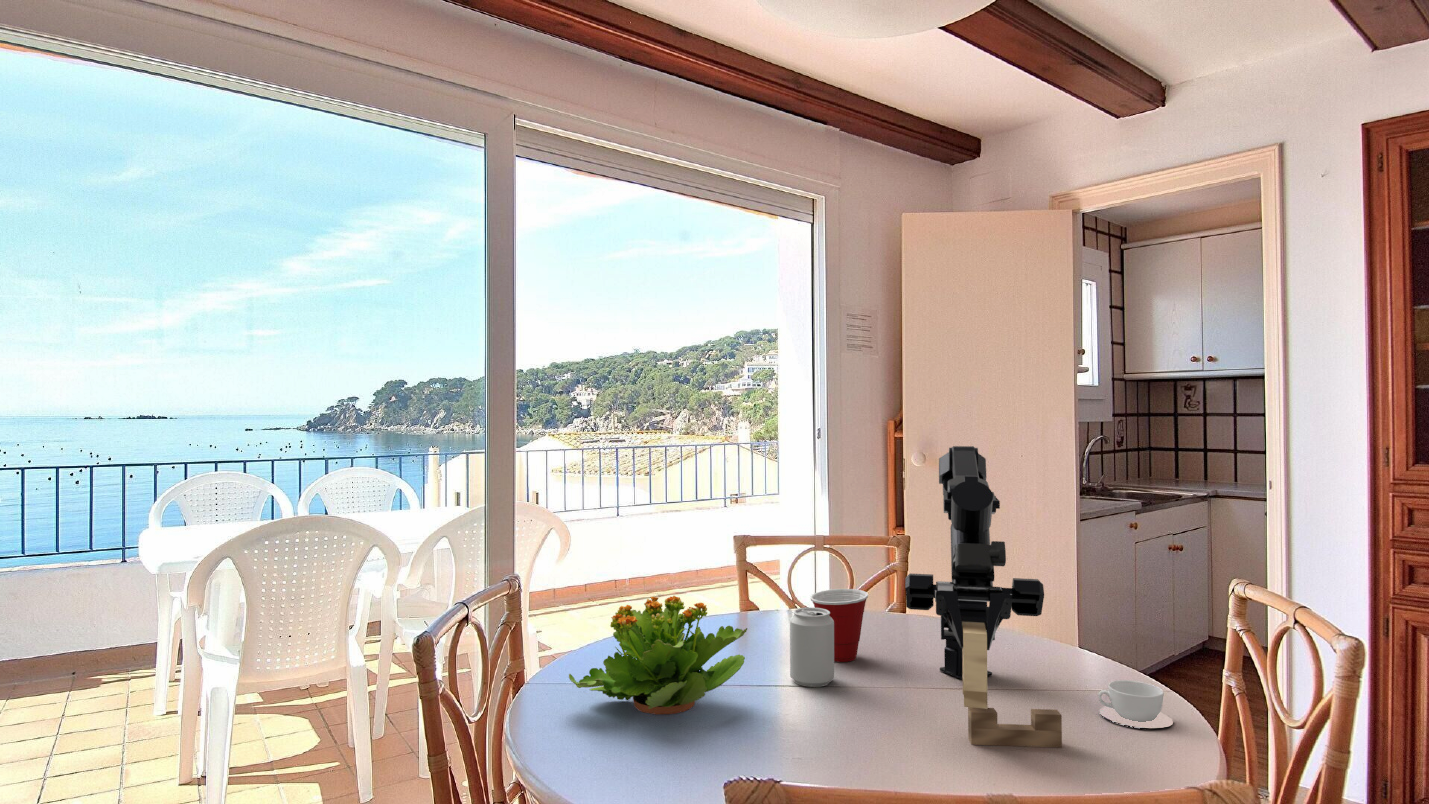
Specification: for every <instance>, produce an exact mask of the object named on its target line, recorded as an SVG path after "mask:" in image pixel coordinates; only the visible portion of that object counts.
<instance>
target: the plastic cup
mask: <svg viewBox="0 0 1429 804" xmlns="http://www.w3.org/2000/svg"><path fill="white" fill-rule="evenodd" d="M809 596H810V597H809V599H810V601H811V602H812V604H813V608H822V609H826V610H828V611H830V614H829V616H830V617H831V618H832V619H833V620H834V662H838V663H847V662H852V661H855V660H857V656H858V650H859V643H860V640H861V632H862V625H863V618H864V612H865V608H866V602H867V599H868V597H869V593H868V592H867V591H864V590H861V589H856V588H833V589H826V590H820V591H818V592H813V593H812V594H811V595H809Z"/></svg>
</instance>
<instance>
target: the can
mask: <svg viewBox="0 0 1429 804" xmlns="http://www.w3.org/2000/svg"><path fill="white" fill-rule="evenodd" d="M792 612H793V615H792V616H791V618H790V619H789V676H790V678H791V679H792V680H793V681H794V683H796V684H797V685H800V686H803V687H809V688H819V687H825V686H827V685H829V684H830V682H832V681H833V680H834V679H835V661H834V620H833V619H832V618H831V617H830V616H829V614H830V611H828V610H826V609H822V608H815V607H800V608H796V609H794V610H793V611H792Z"/></svg>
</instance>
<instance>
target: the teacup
mask: <svg viewBox="0 0 1429 804" xmlns="http://www.w3.org/2000/svg"><path fill="white" fill-rule="evenodd" d="M1164 694H1165V692H1164V690H1163V688H1161V687H1159V686H1157V685H1154V684H1152V683H1148V682H1143V681H1138V680H1128V679H1127V680H1126V679H1125V680H1124V679H1123V680H1122V679H1119V680H1112V681H1110V682H1109V683H1108V684H1107V689H1101V690H1100V691H1098V701H1099V702H1100V704H1101V705H1102V706H1103V707H1104V706H1106V707H1109V708H1113V709H1115V711H1116V712H1117V713H1118V714H1119V715H1120V716H1121V717H1123V718H1125V719H1129V720H1132V721H1138V722H1146V721H1152V720H1154V719H1155V718H1156V717H1157V715H1158V714H1159V713H1160V712H1162V708H1163V702H1164ZM1102 695H1106V696H1108V697H1109V700H1110V703H1109V702H1106V701H1105V700H1103V699H1102ZM1100 711H1104V710H1100ZM1098 713H1099V712H1098ZM1100 714H1101V712H1100V713H1099V715H1100ZM1102 714H1103V713H1102ZM1102 716H1103V715H1102ZM1102 716H1101V717H1102ZM1114 722H1116V721H1112V722H1111V723H1114ZM1116 724H1117V725H1120V726H1124V725H1125V724H1118V723H1116ZM1127 725H1128V724H1127ZM1129 728H1133V727H1132V726H1130V727H1129ZM1134 728H1135V729H1140V728H1142V727H1134ZM1143 728H1144V727H1143Z"/></svg>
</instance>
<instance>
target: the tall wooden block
mask: <svg viewBox="0 0 1429 804" xmlns="http://www.w3.org/2000/svg"><path fill="white" fill-rule="evenodd" d="M962 629H963V649H962V668H963V680H962V695H963V707H964V708H968V707H972V708H984V709H987V708H988V676H987V671H988V650H987V632H986V628H985V624H984V623H978V622H962Z"/></svg>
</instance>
